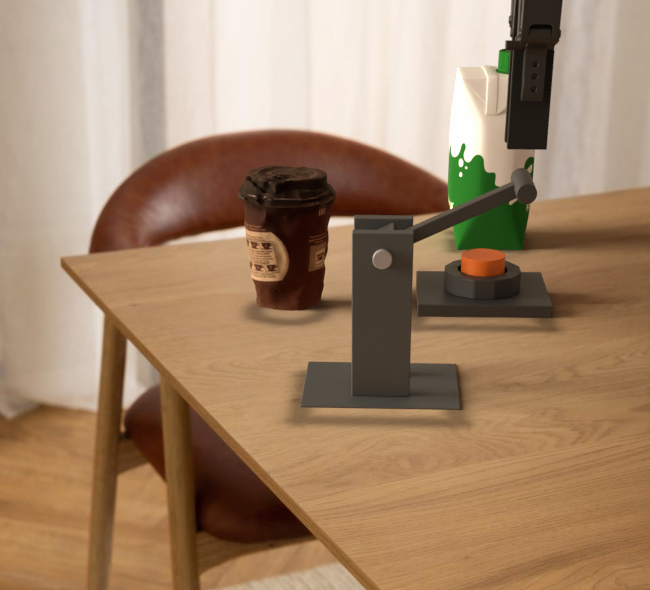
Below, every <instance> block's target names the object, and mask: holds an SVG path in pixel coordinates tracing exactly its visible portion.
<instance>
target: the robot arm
mask: <svg viewBox="0 0 650 590" xmlns="http://www.w3.org/2000/svg"><path fill="white" fill-rule="evenodd" d="M562 10H563V0H510V15H508V27H509V29H510V30H509V37H510V38H511V39H509V40H508V39H507V40H505V41H504V49H505V50H510V58H509V74H508V90H507V106H506V122H505V138H504V141H505V143H507V149H523V150H535V151H537V150H539V151H540V150H541V151H544V150H545V151H546V150H547V149H548V138H549V137H548V136H549V123H550V113H551V112H550V111H551V100H552V89H553V87H552V86H553V76H554V74H553V73H554V62H555V61H554V60H555V47H556V46H557V44H558V43H559V42H560V39H561V37H562V30H561V23H562V22H561V21H562V20H561V19H562Z"/></svg>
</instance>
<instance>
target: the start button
mask: <svg viewBox="0 0 650 590" xmlns="http://www.w3.org/2000/svg"><path fill="white" fill-rule="evenodd" d="M460 260H461V272H462V273H464V274H466V275H471V276H480V277H492V276H498V275H503V274H504V271H505V261H506V254H505V253H504V252H503V251H502V250H494V249H483V248H479V249H470V250H463V251H462V252H461V259H460Z"/></svg>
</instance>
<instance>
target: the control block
mask: <svg viewBox="0 0 650 590" xmlns="http://www.w3.org/2000/svg"><path fill="white" fill-rule="evenodd" d="M415 302H416V317H417V318H419V317H420V318H423V317H425V318H426V317H427V318H496V319H497V318H500V319H501V318H504V319H505V318H506V319H552V318H553V308H554V306H553V304H552V300H551V297H550V295H549V292H548V289H547V286H546V283H545V280H544V277H543V274H542V272H541V271H522V270H521V268H520V266H519V265H517V264H516V263H513V262H510V261H508V260H505V271H504V274H503V275H498V276H492V277H480V276H471V275H466V274H464V273H462V272H461V259H457V260H453V261H451V262H449V263H447V264H445V265H444V270H416V271H415Z"/></svg>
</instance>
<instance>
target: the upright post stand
mask: <svg viewBox="0 0 650 590" xmlns="http://www.w3.org/2000/svg"><path fill="white" fill-rule="evenodd" d="M393 222H394V223H395V226H396V228H397V230H377V229H379V228H382V227H384V226H386V225H388V224H391V223H393ZM413 225H414V215H411V214H410V215H409V214H408V215H399V214H395V215H393V214H392V215H391V214H389V215H387V214H355V215H353V229H352V231H351V361H308V362H307V365H306V366H307V367H306V372H305V377H304V382H303V388H302V394H301V399H300V404H299V408H310V409H311V408H314V409H315V408H318V409H320V408H321V409H323V408H324V409H373V410H374V409H377V410H378V409H380V410H382V409H384V410H434V411H435V410H437V411H440V410H441V411H445V410H446V411H447V410H448V411H450V410H451V411H461V400H460V390H459V381H458V380H459V379H458V373H457V372H458V371H457V364H456V363H434V362H433V363H430V362H411V353H412V352H411V351H412V350H411V349H412V317H413V315H412V314H413V313H412V312H413V310H412V309H413V276H414V275H413V274H414V246H415V245H414V244H415V243H414V231H413V230H405V229H407V228H409V227H411V226H413Z"/></svg>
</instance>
